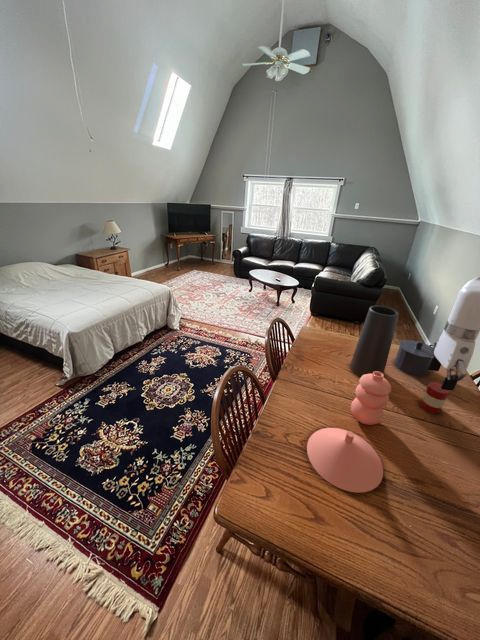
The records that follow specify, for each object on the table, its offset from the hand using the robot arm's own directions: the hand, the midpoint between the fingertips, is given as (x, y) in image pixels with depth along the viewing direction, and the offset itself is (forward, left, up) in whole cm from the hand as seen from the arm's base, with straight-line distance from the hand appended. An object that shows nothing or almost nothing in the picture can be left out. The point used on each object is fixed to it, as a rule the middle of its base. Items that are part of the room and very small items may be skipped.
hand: (439, 379), depth 83 cm
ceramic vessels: (+24, +13, -19) cm, 33 cm away
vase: (+12, -29, -19) cm, 37 cm away
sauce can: (-7, -11, -19) cm, 23 cm away
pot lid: (-9, -38, -10) cm, 40 cm away
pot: (-9, -38, -19) cm, 43 cm away
